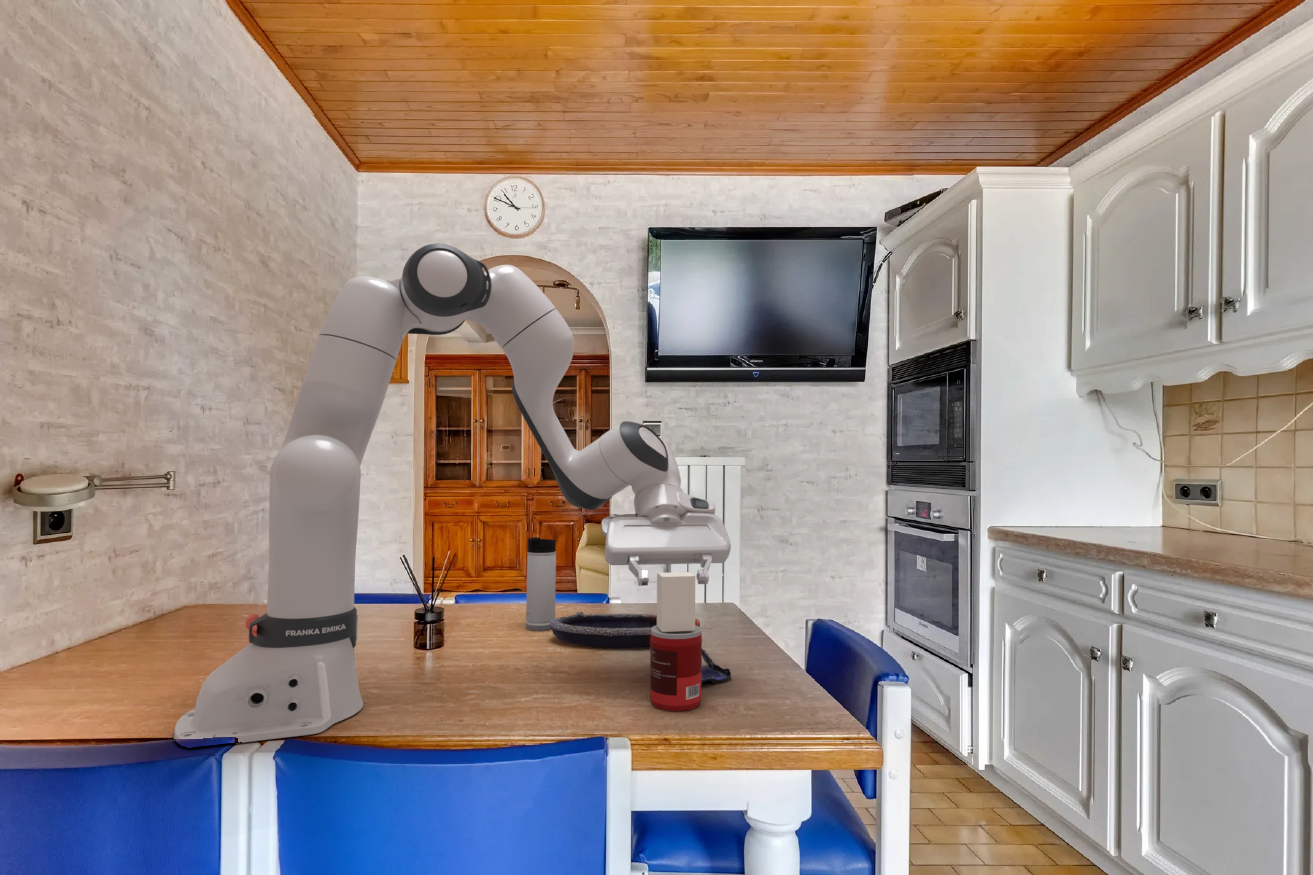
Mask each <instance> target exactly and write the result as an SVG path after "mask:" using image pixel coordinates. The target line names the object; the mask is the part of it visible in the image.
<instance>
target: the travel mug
mask: <svg viewBox="0 0 1313 875" xmlns="http://www.w3.org/2000/svg"><path fill="white" fill-rule="evenodd" d="M556 545H557V539H548V538H547V539H546V538H540V537H537V536H535V537H533V536H532V537H530V538H527V552H526V553H527V559H526V605H525V606H526V607H525V608H526V612H525V613H526V614H525V615H526V617H525V620H526V621H525V625H526V626H525V628H526V630H528V631H531V632H545V631H552V629H551V627H550V625H549V624H550V622H551V621H552V620H553V619H556V578H557V577H556V574H557V571H556V570H557V550H556V547H557V546H556Z"/></svg>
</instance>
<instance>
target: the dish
mask: <svg viewBox="0 0 1313 875" xmlns="http://www.w3.org/2000/svg"><path fill="white" fill-rule="evenodd" d="M549 625H550V627H551V631H552V635H553V636H555V637H556V638H557V640H559V641H561V642H565V643H569V644H572V645H576V646H582V647H591V648H603V649H605V648H606V649H640V648H641V649H642V648H643V649H644V648H650V639H651V628H652V627H653V626H655V625H657V614H652V613H650V614H649V613H587V614H585V613H584V612H583V611H577V612H576V613H574V614H571V615H567V616H561V617H555V619H553V620H552V621H551V622H550V624H549ZM695 625H696V626H699V627H700V628H701V622H700V620H699V619H698V618H695Z"/></svg>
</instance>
